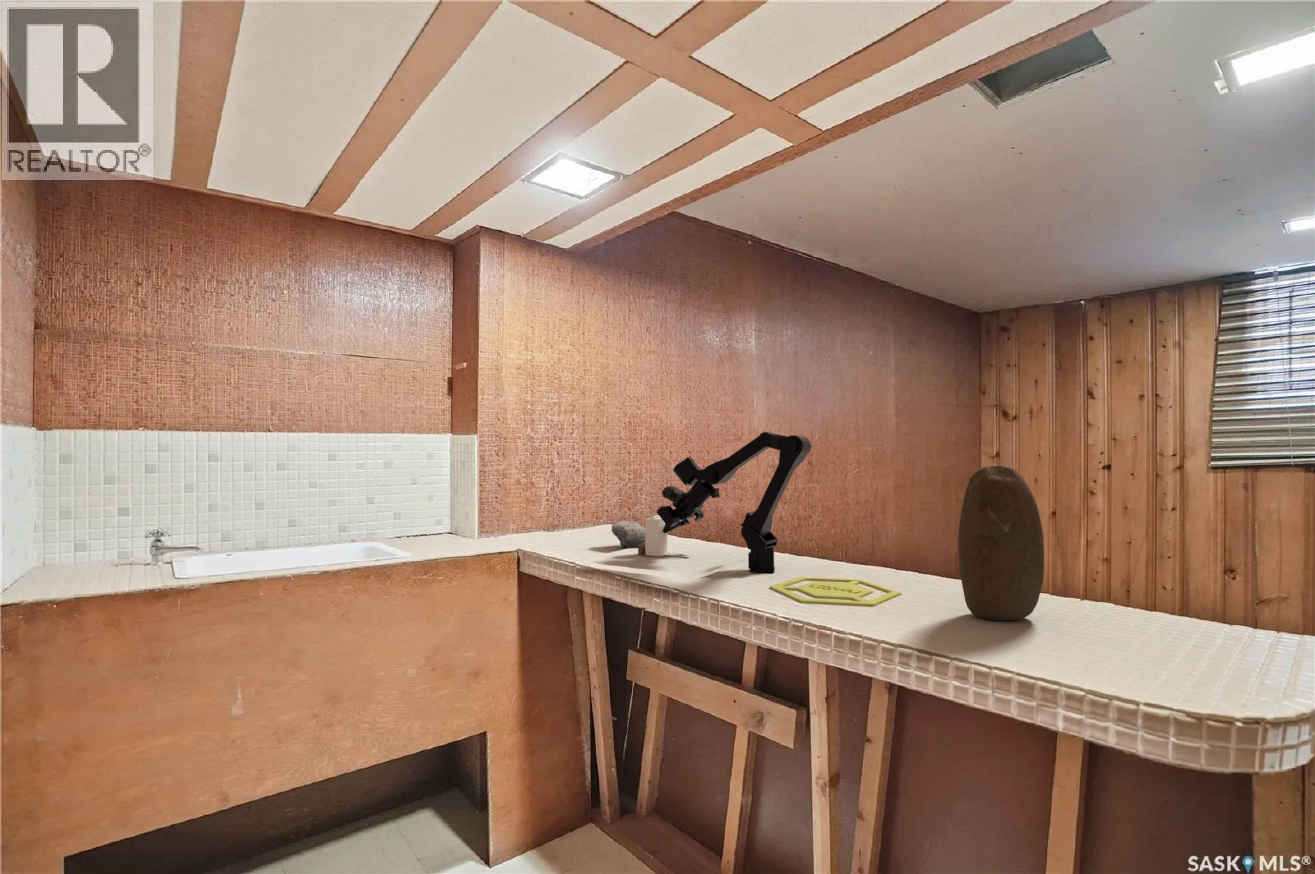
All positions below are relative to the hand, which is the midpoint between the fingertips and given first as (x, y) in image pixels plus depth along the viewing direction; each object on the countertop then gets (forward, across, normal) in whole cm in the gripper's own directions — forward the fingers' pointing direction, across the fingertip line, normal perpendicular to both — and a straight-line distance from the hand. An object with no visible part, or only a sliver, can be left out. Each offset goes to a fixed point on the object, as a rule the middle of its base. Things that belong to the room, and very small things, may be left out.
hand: (664, 532), depth 190 cm
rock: (+21, -13, -8) cm, 26 cm away
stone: (-59, +19, +70) cm, 93 cm away
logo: (-34, +14, +46) cm, 58 cm away
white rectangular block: (+7, 0, +3) cm, 8 cm away
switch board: (+6, 0, +6) cm, 8 cm away
